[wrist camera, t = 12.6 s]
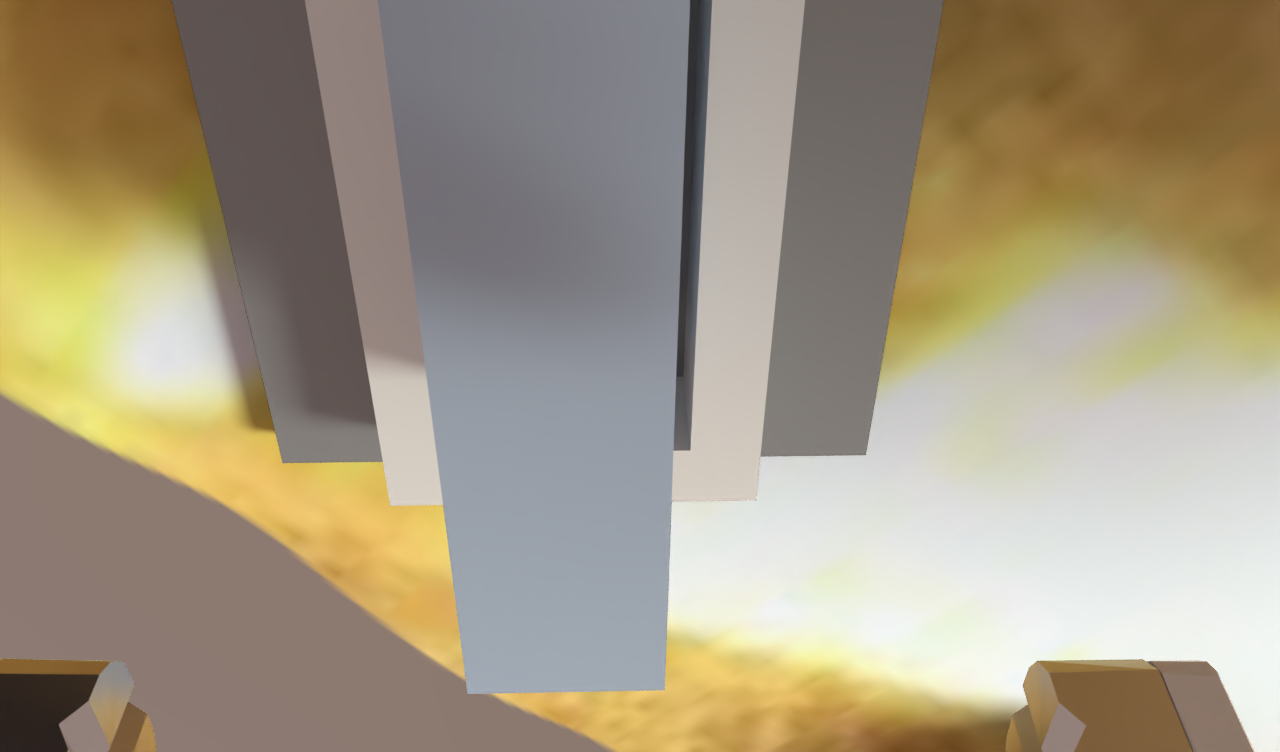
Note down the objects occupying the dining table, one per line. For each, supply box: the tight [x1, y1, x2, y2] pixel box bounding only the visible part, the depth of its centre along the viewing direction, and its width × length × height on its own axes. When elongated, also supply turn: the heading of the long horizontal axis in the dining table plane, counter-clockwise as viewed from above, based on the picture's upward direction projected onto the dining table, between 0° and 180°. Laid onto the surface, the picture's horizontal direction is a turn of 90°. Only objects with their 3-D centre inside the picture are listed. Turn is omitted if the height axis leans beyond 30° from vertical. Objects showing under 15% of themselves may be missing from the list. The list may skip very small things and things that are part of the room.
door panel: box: [378, 0, 690, 694], centre depth 18 cm, size 3×12×10 cm, turn 179°
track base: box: [172, 0, 944, 506], centre depth 22 cm, size 14×21×4 cm, turn 179°
